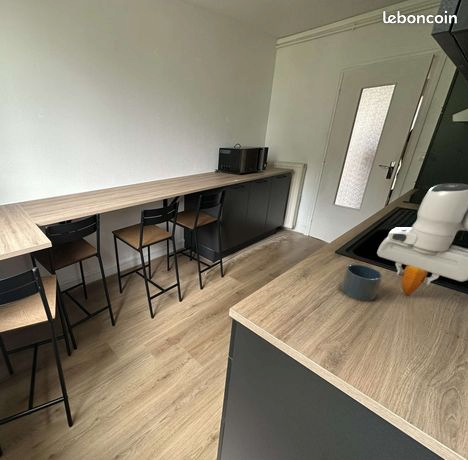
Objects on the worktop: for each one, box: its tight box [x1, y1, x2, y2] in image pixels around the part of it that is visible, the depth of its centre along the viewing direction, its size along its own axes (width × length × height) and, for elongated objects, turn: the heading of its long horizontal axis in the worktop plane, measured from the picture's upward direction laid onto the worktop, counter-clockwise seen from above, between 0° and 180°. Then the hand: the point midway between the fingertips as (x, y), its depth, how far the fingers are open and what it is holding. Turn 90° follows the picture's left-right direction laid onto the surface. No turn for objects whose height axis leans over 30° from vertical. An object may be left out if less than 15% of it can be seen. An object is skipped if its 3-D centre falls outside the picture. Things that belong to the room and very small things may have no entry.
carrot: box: [401, 265, 429, 296], centre depth 78 cm, size 5×5×15 cm
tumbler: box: [340, 264, 383, 302], centre depth 82 cm, size 9×9×8 cm
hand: (412, 279), depth 79 cm, fingers closed on carrot, 5 cm apart
